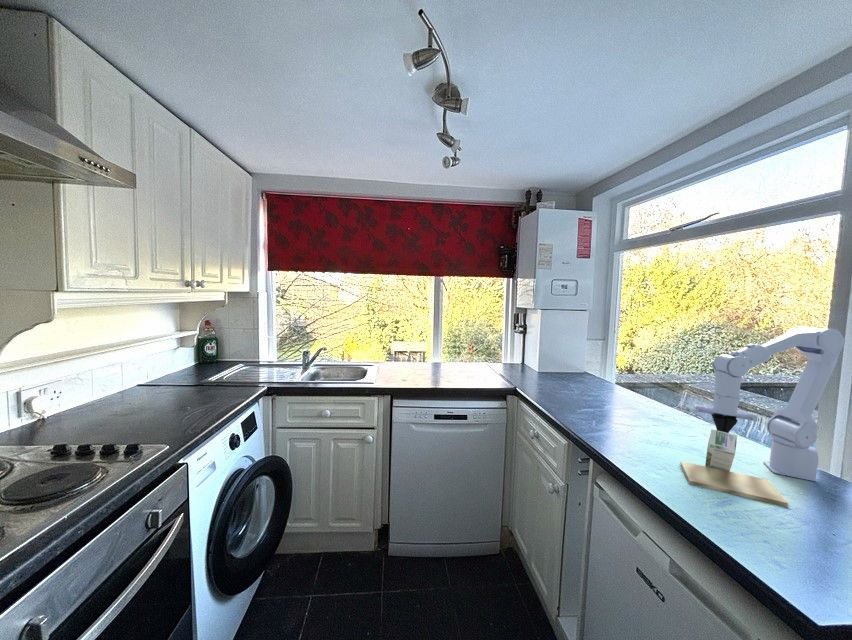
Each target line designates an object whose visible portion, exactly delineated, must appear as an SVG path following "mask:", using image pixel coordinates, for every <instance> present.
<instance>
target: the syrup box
mask: <svg viewBox="0 0 852 640" xmlns="http://www.w3.org/2000/svg"><path fill="white" fill-rule="evenodd" d="M708 438H709V439H708V443H707V447H706V454H705V455H706V456H705V464H704V465H705V466H706V467H710V468H715V469H720V470H725V471H729V472H731V469H732V466H733V463H734V459H735V455H736V450H737V449H736V448H737V440H738V435H737V434H734V433H731V432H729V433H726V432H722V431H717V429H710V434H709V437H708Z"/></svg>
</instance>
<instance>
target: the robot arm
mask: <svg viewBox="0 0 852 640" xmlns="http://www.w3.org/2000/svg"><path fill="white" fill-rule="evenodd" d="M845 343H846V339H845V338H844V337H843V335H842V333H841V331H839V330H838V329H836V328H823V327H822V328H821V327H811V326H804V325H796V326H795V327H793V328H789V329H787V330H786V332H785V333H783V334H781V335H779V336H777V337H775V338H773V339H771V340H769V341H767V342H765V343H763V344H759V343H748V344H746V346H745V347H743V348H741V349H738V350H732V351H731V353H729V354H726V353H725V354H724V353H722V354H719V355H717V356H716V357H715V358H714V360H713V361H712V362H711V367H712V369H713V370H714V377H715V382H714V389H713V391H714V392H713V401H712V405H704V404H703V405H702V404H694V405H693V412H695V413H703V414H709V415H711V417H712V420H713V422H714V425H715V428H716V429H715V430H717V431H722V432H726V433H731V430H732V429H733V428H734V426H736V424H737V423H738V419H741V420H746V421H748V420H749V421H752V422H758V417H759V415H758V414H756V412H749V411H748V412H747V411H745V410H739V403H740V402H739V400H740V394H741V384H742V378H743V377H744V376H746V374H747V373H748V372H749V370H750V369H752V368H755V367H757V366H759V365H761V364H763V363H767V362H768V361H769V360H770V358H771V356H772V355H775V354H777V353H781V352H784V351H787V350H790V349H792V348H795V349H796V350H797V351H799V353H801V354H802V355H803V356H804V357H805V358H806V359H807V362H806V363H805V366H804V368H803V370H802V372H801V375H800V377H799V379H798V381H797V383H796V385H795V387H794V390H793V392H792V394H791V396H790V399H789V401H788V403H787V405H786V407H784V408H781V409H778V410H775V412H774V414H773V415H772V416H771V417H770V418H769V419H768V420H767V422H766V423H765V425H766V426H765V427H766V431H767V433H768V434H770V435H769V437H770V438H771V439H772V440H771V447H770V456H769V461H766V460H763V464H764V465H766V467H767V468H768V470H770V471H771V472H772V473H773V474H778V475H782V476H786V475H787V477H792V478H797V479H801V480H806V481H813V482H818V479H817V473H818V465H819V454H818V451H817V449H816V448H815V447H813V445H814V444H815V443H816V441H817V439H818V430H819V428H820V426H819V424H818V423H817V422H816V421H815V419H814V418H813V417H812V415H813V414H814V411H815V409H816V407H817V405H818V403H819V401H820V399H821V397H822V394H823V393H824V390H825V389H826V386H827V384H828V382H829V380H830V378H831V375H832V373H833V371H834V369H835V367H836V365H837V362H838V358H839V356H840V353H841V352H842V350H843V348H844V345H845Z"/></svg>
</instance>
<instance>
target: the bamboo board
mask: <svg viewBox="0 0 852 640" xmlns="http://www.w3.org/2000/svg"><path fill="white" fill-rule="evenodd" d="M680 464H681V465H680V467H681V466H682V467H681V470H682V471H683V473H685V474H684V476H685V478H686V481H687V482H689V483H688V484H689V485H691V484H692V485H691V486H696V485H697V486H696V487H700V486H701V487H700V488H705V489H708V488H709V490H713V491H718V492H722V493H726V494H730V495H735V496H739V497H743V498H748V499H752V500H756V501H761V502H764V503H770V504H772V505H773V504H774V505H778V506H782V507H785V508H786V507H787V508H788V507H789V502H788V501H787V500H786V499H785V498H784V496H783V495H782V494H781V493H780V492H779V491H778V490H777V489H776V488H775V486H773V484H772V483H771V482H770V480H768V479H767V478H763V477H762V478H761V477H757V476H752V475H748V474H743V473H739V472H734V471H730V472H729V471H725V470H720V469H715V468H710V467H706V466H704V465H699V464H696V463H691V462H690V463H689V462H687V461H680Z"/></svg>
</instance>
